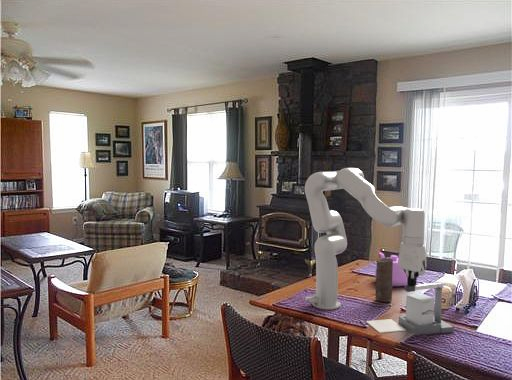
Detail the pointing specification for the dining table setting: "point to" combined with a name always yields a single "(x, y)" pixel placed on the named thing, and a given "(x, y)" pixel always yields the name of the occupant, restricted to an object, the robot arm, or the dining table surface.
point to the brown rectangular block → (384, 279)
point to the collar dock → (438, 324)
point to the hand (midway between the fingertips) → (411, 287)
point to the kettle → (396, 272)
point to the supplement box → (419, 309)
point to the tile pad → (385, 326)
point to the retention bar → (423, 286)
